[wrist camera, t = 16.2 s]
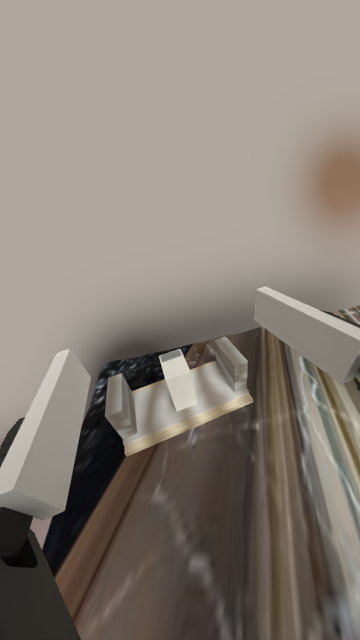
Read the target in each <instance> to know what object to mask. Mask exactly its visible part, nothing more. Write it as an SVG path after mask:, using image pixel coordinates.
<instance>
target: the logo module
mask: <svg viewBox="0 0 360 640" xmlns="http://www.w3.org/2000/svg"><path fill="white" fill-rule="evenodd" d="M159 358H160V362H161V365H162V369H163V373H164V377H165V380H166V383H167V386H168V389H169V392H170V394H171V397H172V400H173V403H174V406H175V408H176V411H177V412H178V411H180V410H183V409H185V408H188V407H190V406H193V405H195V404H198V403H197V399H196V394H195V390H194V385H193V381H192V376H191V372H190V369H189V367H188V365H187V363H186V361H185V358H184V356H183V354H182V352H181V350H180V349H178V350H176V351H173V352H170V353H167V354H164V355H161V356H159Z"/></svg>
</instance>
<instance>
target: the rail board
mask: <svg viewBox="0 0 360 640" xmlns="http://www.w3.org/2000/svg"><path fill="white" fill-rule="evenodd" d="M214 342H215V353H216V360H215V361H212V362H209V363H207V364H204V365H201V366H199V367H196V368H193V369H191V370H190V372H191V376H192V381H193V385H194V390H195V394H196V399H197V403H198V404H195V405H193V406H190V407H188V408H185V409H183V410H180V411H178V412H177V411H176V408H175V406H174V403H173V400H172V397H171V394H170V392H169V389H168V386H167V383H166V380H165V379H164V380H161V381H159V382H156V383H153V384H151V385H148V386H145V387H143V388H140V389H137V390H135V391H131V389H130V388H129V386H128V384H127V382H126V380H125V379H124V377H123V375H122V373H121V374H118V375H116V376H113V377H110V378H108V386H107V398H106V410H105V417H106V418H107V420H108V421H109V422H110V423H111V425H112V426H113V427H114V428H115V430H116V431H117V432H118V433H119V435H120V436H121V437H122V438H123V445H124V446H125V455H126V456H129V455H132V454H134V453H136V452H139V451H141V450H143V449H146V448H148V447H150V446H153V445H155V444H157V443H160V442H162V441H164V440H167V439H169V438H171V437H173V436H176V435H178V434H180V433H183V432H185V431H187V430H190V429H192V428H194V427H197V426H199V425H201V424H204V423H206V422H208V421H211V420H213V419H215V418H217V417H220V416H222V415H224V414H227V413H229V412H231V411H234V410H236V409H238V408H241V407H243V406H245V405H248V404H250V403H252V402H253V398H252V397H251V396H250V394H249V391H248V389H247V388H246V387H247V366H248V361H247V360H246V359H245V358H244V356H243V355H242V354H241V353H240V352H239V351H238V350H237V349H236V348H235V347H234V346H233V344H232V343H231V342H230V341H229V340H228V339H227V338H226V337H223V338H220V339H217V340H214Z"/></svg>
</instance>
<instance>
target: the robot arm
mask: <svg viewBox="0 0 360 640" xmlns="http://www.w3.org/2000/svg"><path fill="white" fill-rule="evenodd" d="M254 320H255V321H256V322H257V323H259V324H260V325H261V326H263V327H264V328H265V329H267V330H268V331H269V332H271V333H272V334H274V335H275V336H276V337H278V338H279V339H280V340H282V341H283V342H284V343H286V344H287V345H289V346H290V347H291V348H293V349H294V350H295V351H297V352H298V353H299V354H301V355H302V356H304V357H305V358H306V359H308V360H309V361H310V362H312V363H313V364H314V365H316V366H317V367H319V368H320V369H321V370H323V371H324V372H325V373H327V374H328V375H329V376H331V377H332V378H334V379H335V380H336V381H338V382H339V383H340V384H344V383H346V382H348V381H351V380H353V379H354V378H355V376H356V375H357V373H358V371H360V325H358V324H356V323H353V322H349V320H346V319H344V318H341V317H339V316H337V315H335V314H333V313H330V312H326V311H321V310H317V309H315V308H313V307H311V306H308V305H306V304H304V303H302V302H299V301H297V300H295V299H293V298H290V297H288V296H286V295H283V294H281V293H279V292H277V291H274V290H272V289H270V288H268V287H262V288H259V289H256V302H255V318H254ZM90 379H91V377H90V375H89V374H88V373H87V371H86V370H85V368H84V367H83V366H82V364H81V363H80V361H79V360H78V359H77V357H76V356H75V354H74V353H73V352H72V350H71V349H67V350H64V351H61V352H58V353H57V354H56V356H55V358H54V360H53V362H52V364H51V366H50V368H49V370H48V372H47V375H46V376H45V378H44V380H43V382H42V384H41V386H40V388H39V390H38V392H37V394H36V396H35V399H34V400H33V403H32V405H31V407H30V409H29V411H28V413H27V415H26V417H24V418H21V419H19V420H18V421H17V422H16V424H15V425H14V426H13V427H12V428H11V430H10V431H9V432H8V433H7V436H6V437H5V439H4V441H3V443H2V445H1V449H0V640H81V639H80V636H79V634H78V632H77V630H76V627H75V625H74V623H73V620H72V618H71V616H70V614H69V611H68V609H67V607H66V604H65V602H64V600H63V598H62V595H61V593H60V591H59V588H58V586H57V584H56V581H55V579H54V577H53V575H52V572H51V570H50V568H49V565H48V563H47V561H46V559H45V556H44V554H43V552H42V549H41V547H40V545H39V543H38V540H37V538H36V536H35V533H34V532H32V530H31V529H30V526H31V522H32V519H33V517H34V518H37V519H40V520H45V519H47V518H49V517H52V516H54V515H56V514H58V513H61V512H63V511H65V507H66V502H67V497H68V492H69V487H70V481H71V476H72V471H73V466H74V461H75V456H76V451H77V446H78V441H79V436H80V430H81V425H82V420H83V415H84V410H85V405H86V400H87V395H88V390H89V384H90ZM357 389H358V390H359V391H360V383H359V384H358V386H357Z"/></svg>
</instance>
